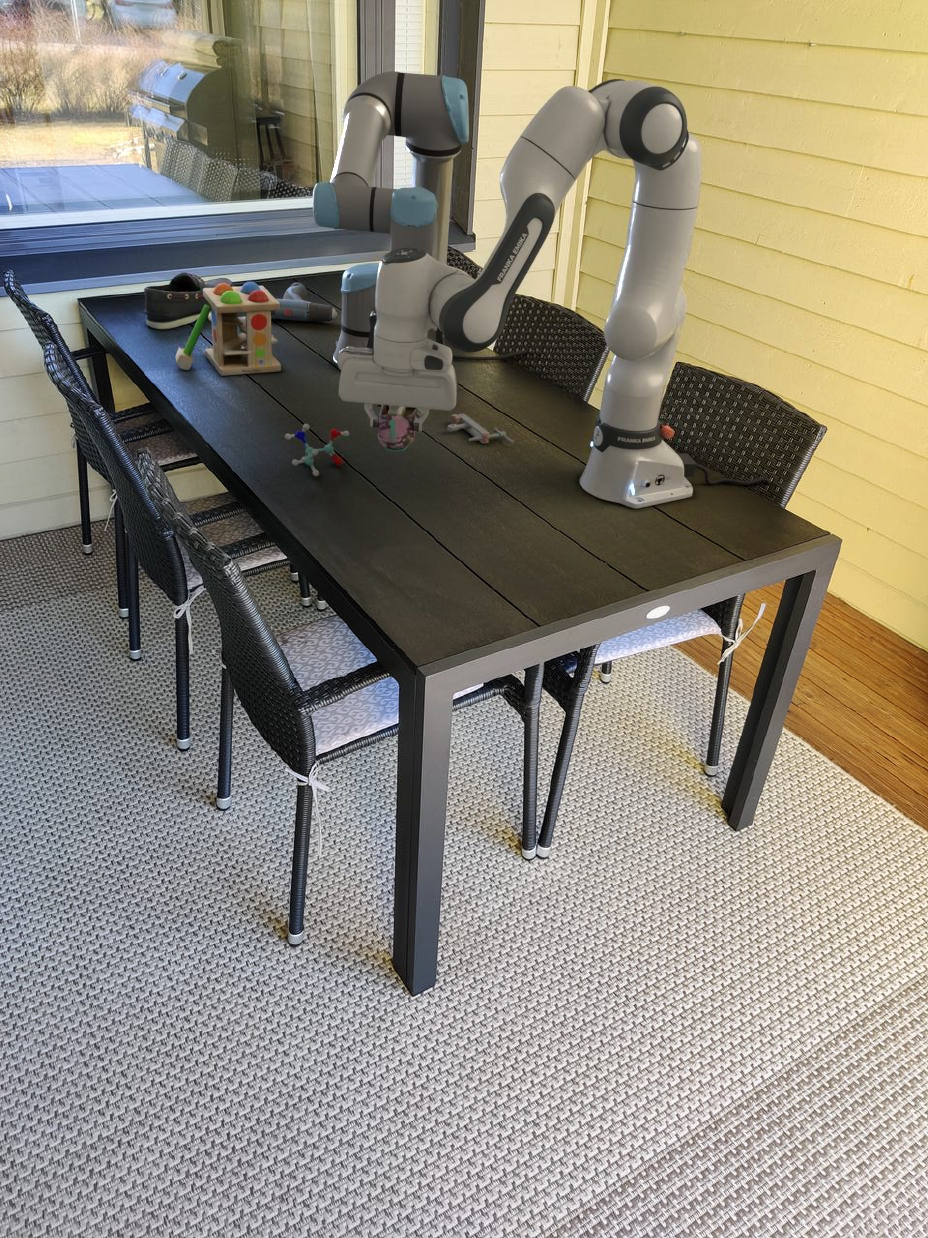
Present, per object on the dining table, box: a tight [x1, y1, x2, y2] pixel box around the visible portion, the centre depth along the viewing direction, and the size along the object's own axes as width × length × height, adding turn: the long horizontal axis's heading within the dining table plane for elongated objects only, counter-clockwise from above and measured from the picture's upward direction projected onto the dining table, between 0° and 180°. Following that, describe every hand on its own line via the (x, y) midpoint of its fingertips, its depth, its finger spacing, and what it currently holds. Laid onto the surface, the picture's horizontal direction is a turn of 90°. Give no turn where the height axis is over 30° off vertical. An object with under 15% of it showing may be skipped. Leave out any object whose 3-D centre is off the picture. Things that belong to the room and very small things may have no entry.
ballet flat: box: [377, 405, 422, 453], centre depth 177 cm, size 8×24×9 cm, turn 177°
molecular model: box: [284, 423, 350, 477], centre depth 188 cm, size 12×10×10 cm
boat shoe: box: [143, 271, 236, 330], centre depth 257 cm, size 13×33×10 cm, turn 147°
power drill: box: [271, 282, 338, 322], centre depth 265 cm, size 5×19×20 cm
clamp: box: [447, 413, 515, 445], centre depth 208 cm, size 15×2×10 cm
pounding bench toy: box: [174, 281, 282, 377], centre depth 225 cm, size 23×14×18 cm, turn 116°
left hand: (403, 406), depth 186 cm, fingers closed on ballet flat, 8 cm apart
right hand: (396, 428), depth 171 cm, fingers closed on ballet flat, 6 cm apart
